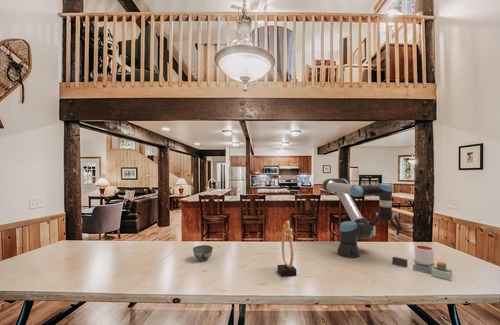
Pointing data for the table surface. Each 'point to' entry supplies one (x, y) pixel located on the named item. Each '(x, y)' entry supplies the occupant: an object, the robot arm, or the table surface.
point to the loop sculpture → (287, 268)
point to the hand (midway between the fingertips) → (385, 237)
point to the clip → (422, 268)
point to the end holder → (442, 273)
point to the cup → (424, 255)
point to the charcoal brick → (399, 261)
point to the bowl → (202, 252)
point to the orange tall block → (441, 266)
